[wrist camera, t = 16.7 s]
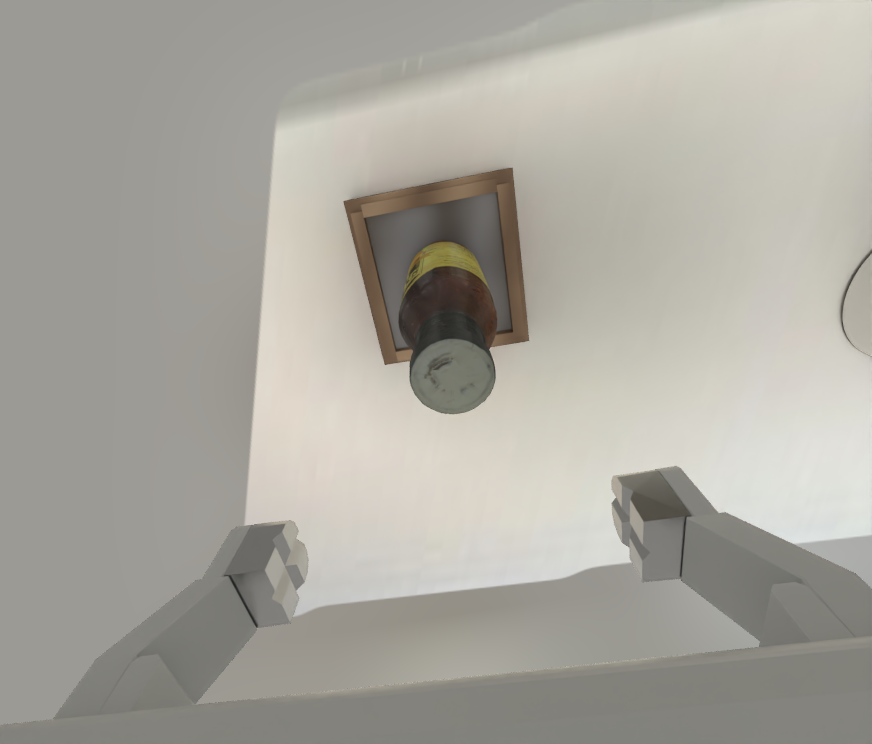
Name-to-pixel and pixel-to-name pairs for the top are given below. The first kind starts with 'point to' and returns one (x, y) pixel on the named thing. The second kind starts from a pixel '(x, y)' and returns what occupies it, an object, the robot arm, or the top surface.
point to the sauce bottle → (448, 328)
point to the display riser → (440, 221)
